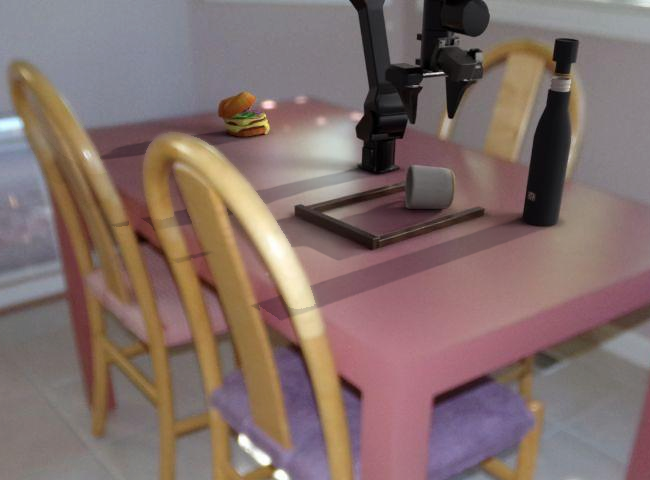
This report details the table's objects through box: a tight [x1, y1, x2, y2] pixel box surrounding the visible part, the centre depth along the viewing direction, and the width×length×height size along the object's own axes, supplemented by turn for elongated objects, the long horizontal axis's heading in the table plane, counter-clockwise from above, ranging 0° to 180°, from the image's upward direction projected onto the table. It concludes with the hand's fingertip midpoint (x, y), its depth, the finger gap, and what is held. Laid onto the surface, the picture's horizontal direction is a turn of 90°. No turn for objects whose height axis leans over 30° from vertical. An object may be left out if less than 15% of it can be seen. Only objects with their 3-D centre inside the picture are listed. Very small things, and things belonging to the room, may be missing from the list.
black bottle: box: [521, 37, 580, 227], centre depth 135 cm, size 6×6×30 cm
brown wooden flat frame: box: [293, 180, 486, 250], centre depth 141 cm, size 28×20×2 cm
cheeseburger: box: [217, 91, 270, 138], centre depth 183 cm, size 10×11×10 cm
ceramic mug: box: [404, 164, 456, 210], centre depth 145 cm, size 11×8×8 cm
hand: (431, 121), depth 146 cm, fingers open, 9 cm apart
